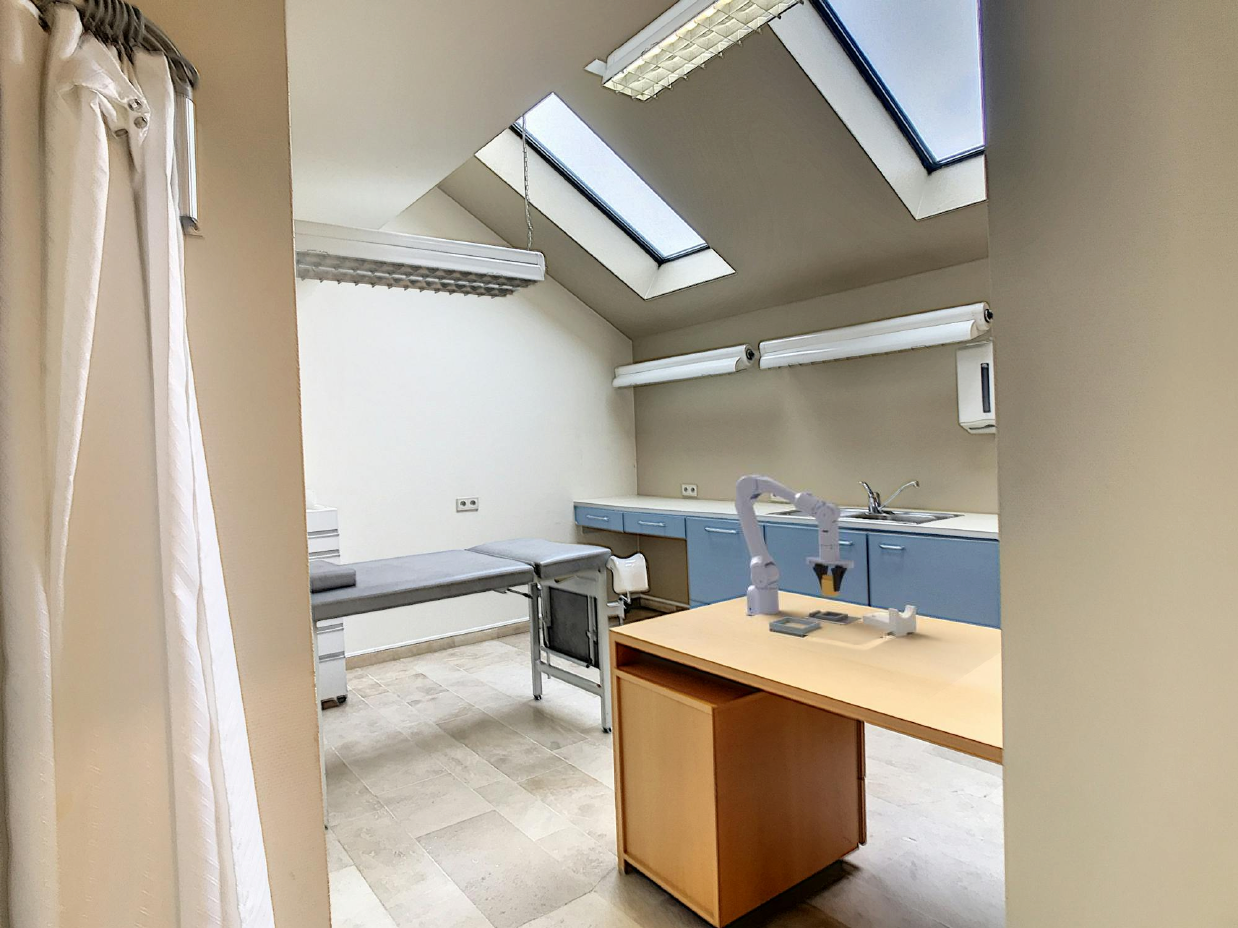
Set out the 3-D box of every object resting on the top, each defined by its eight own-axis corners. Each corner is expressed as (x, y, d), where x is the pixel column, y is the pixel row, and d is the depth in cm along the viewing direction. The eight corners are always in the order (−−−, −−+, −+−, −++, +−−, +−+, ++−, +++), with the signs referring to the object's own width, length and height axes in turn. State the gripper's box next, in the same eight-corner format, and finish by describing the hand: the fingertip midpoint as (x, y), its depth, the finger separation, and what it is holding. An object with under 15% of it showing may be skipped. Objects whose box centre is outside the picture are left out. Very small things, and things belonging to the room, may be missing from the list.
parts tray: (769, 631, 203) (769, 622, 203) (787, 624, 209) (786, 616, 209) (803, 637, 195) (802, 628, 195) (820, 630, 201) (820, 622, 201)
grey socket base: (801, 621, 212) (801, 614, 212) (819, 615, 218) (819, 608, 218) (844, 629, 201) (844, 621, 201) (862, 622, 208) (862, 614, 208)
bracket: (916, 634, 194) (915, 606, 194) (896, 638, 192) (895, 610, 191) (882, 624, 206) (881, 598, 206) (862, 627, 204) (861, 601, 203)
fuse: (822, 595, 210) (821, 575, 210) (828, 593, 212) (827, 573, 212) (833, 597, 207) (832, 576, 207) (839, 594, 210) (838, 574, 210)
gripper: (858, 544, 207) (860, 590, 207) (814, 541, 217) (816, 585, 218) (846, 547, 202) (847, 595, 202) (801, 544, 213) (803, 589, 213)
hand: (830, 590), depth 210 cm, fingers closed on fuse, 4 cm apart
